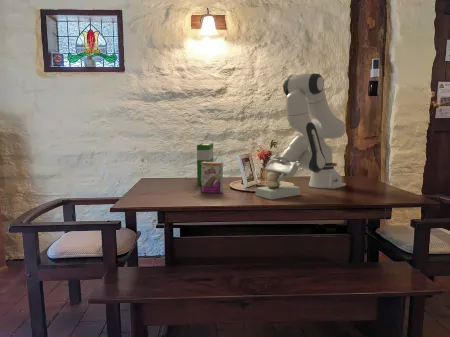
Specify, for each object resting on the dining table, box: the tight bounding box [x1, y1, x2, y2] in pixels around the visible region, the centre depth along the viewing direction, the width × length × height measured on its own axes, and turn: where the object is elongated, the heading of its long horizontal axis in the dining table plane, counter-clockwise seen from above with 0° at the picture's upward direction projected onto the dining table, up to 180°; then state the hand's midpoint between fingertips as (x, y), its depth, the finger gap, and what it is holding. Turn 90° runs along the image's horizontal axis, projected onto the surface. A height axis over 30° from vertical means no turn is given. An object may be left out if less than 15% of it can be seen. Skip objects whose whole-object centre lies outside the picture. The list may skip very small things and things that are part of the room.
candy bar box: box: [200, 161, 224, 194], centre depth 204 cm, size 11×5×16 cm, turn 74°
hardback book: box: [196, 142, 214, 186], centre depth 235 cm, size 18×7×24 cm, turn 174°
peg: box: [267, 172, 281, 189], centre depth 195 cm, size 6×6×10 cm
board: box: [255, 183, 301, 200], centre depth 197 cm, size 20×12×4 cm, turn 125°
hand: (272, 180), depth 195 cm, fingers closed on peg, 6 cm apart
